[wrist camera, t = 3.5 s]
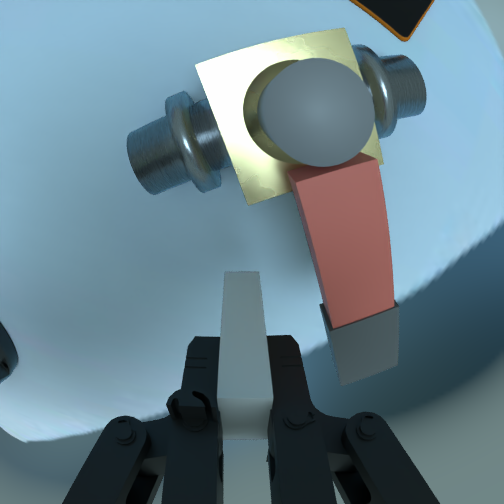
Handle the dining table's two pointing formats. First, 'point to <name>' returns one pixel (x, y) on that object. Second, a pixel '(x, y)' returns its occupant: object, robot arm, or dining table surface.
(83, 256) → the dining table surface
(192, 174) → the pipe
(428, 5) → the smartphone
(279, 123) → the lever
